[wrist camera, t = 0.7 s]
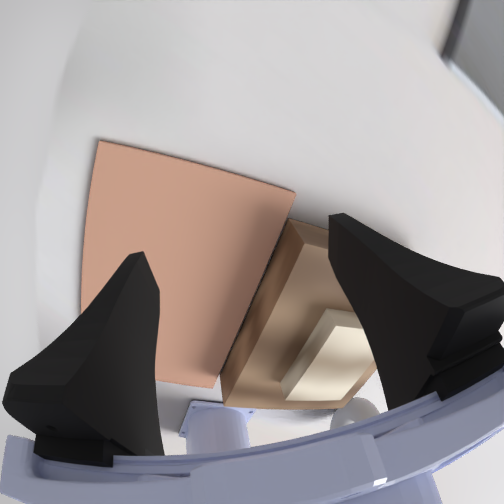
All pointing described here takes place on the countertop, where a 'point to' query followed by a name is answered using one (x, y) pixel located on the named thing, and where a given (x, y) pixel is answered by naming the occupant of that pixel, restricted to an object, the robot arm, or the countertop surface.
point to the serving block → (285, 322)
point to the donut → (353, 412)
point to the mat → (183, 248)
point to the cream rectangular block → (329, 359)
